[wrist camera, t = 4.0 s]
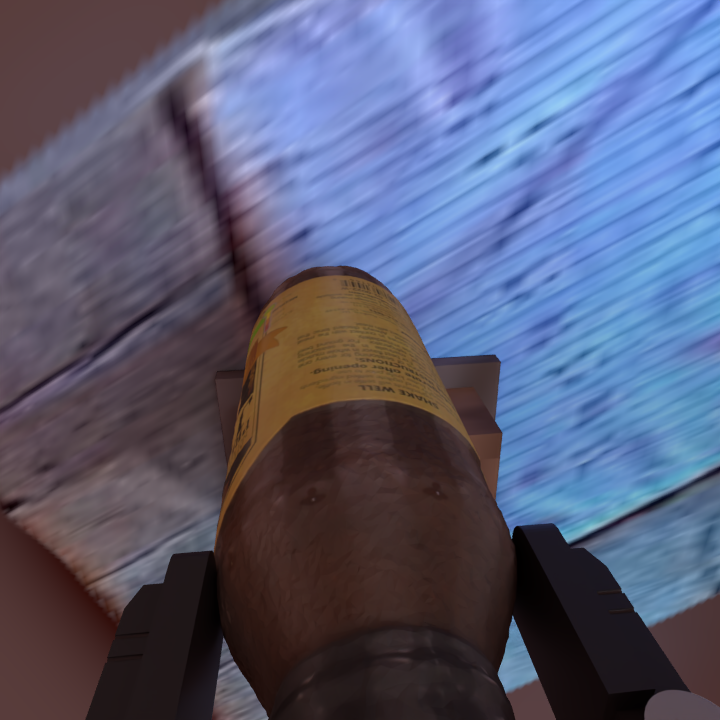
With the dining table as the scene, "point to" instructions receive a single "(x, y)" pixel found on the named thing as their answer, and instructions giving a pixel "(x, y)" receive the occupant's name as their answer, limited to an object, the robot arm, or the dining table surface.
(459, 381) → the cradle
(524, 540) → the robot arm
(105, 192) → the dining table surface
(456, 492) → the sauce bottle
